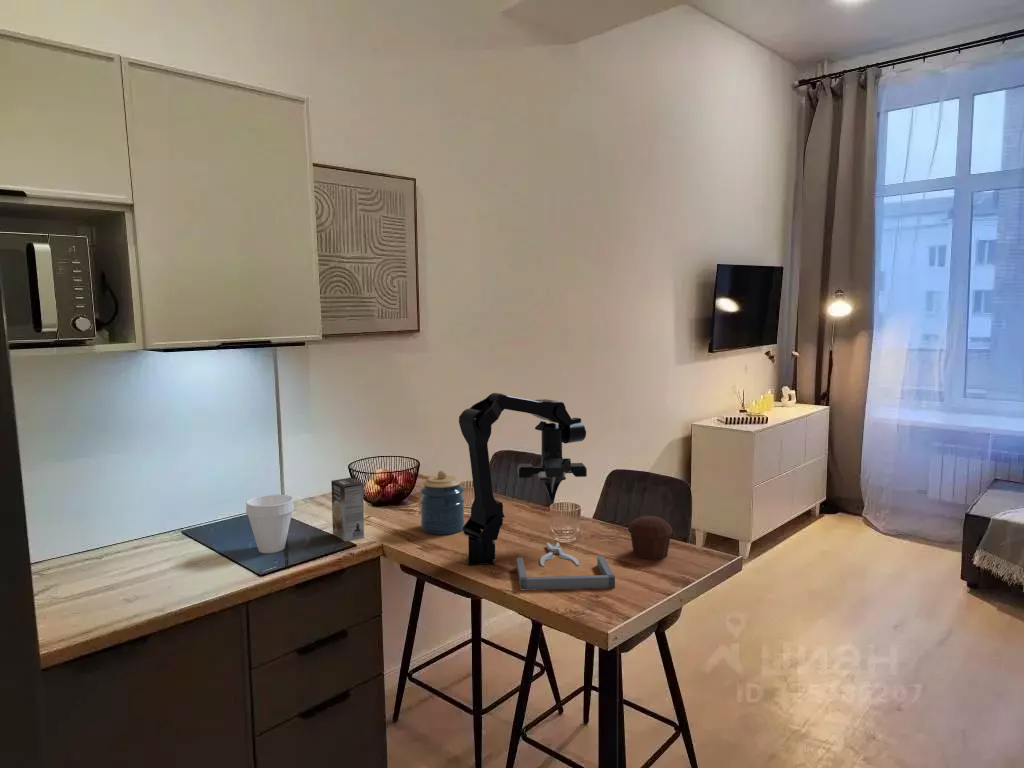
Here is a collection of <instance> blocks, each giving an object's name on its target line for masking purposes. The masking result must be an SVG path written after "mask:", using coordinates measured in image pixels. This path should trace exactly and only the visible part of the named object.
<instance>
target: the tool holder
mask: <svg viewBox="0 0 1024 768" xmlns="http://www.w3.org/2000/svg"><path fill="white" fill-rule="evenodd" d="M596 559H597V561H596V564H597V565H596V566H597V569H598V570H599V571H600V574H599V575H597V574H596V575H595V574H593V575H562V576H561V575H560V576H555V575H554V576H527V573H526V567H525V563H524V558H523V557H516V571H517V576H518V583H519V582H520V583H519V587H520V588H521V589H546V590H577V589H579V590H581V589H582V590H584V589H608V588H609V589H614V588H616V577H615V575H614V573H613V571H612V569H611V567H610V566H609V564H608V562H607V560H606V558H605V556H604V555H597V557H596ZM521 589H520V590H521Z"/></svg>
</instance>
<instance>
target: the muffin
mask: <svg viewBox="0 0 1024 768" xmlns="http://www.w3.org/2000/svg"><path fill="white" fill-rule="evenodd" d="M627 531H628V533H630V538H631V545H632V553H633V552H634V553H633V555H634V556H635V557H637V558H640V559H641V560H649V559H650V561H655V559H656V560H663V559H665V558H666V557H668V554H669V553H668V552H669V548H670V547H669V546H670V543H671V542H670V541H671V536H672V534H673V528H672V526H671V524H670V523H668V522H667V521H666V520H664V518H661V517H659V516H656V515H643V516H642V515H641V516H639V517H637V518H635V519H634V520H632V521H631V523H630V524H629V526H628V528H627Z"/></svg>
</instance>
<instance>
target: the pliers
mask: <svg viewBox="0 0 1024 768" xmlns="http://www.w3.org/2000/svg"><path fill="white" fill-rule="evenodd" d="M546 548H547V549H546V550H547V551H548V550H549V551H548V553H546V554H544V555H542V557H541V558H540V560H539V565H540V564H541V565H540V566H541V567H542V568H544V567H545V562H546V561H550V560H552V559H554V558H556V557H555V556H556V555H554V554H558V558H560V559H563V560H568V561H569V560H570V561H572V562H573V563H574V564H575V565H576V566H577V567H579V566H580V563H579V562H580V561H579V560H578V559H577V558H576V557H575V556H573V555H572V554H568V553H565V552H564V550H563V548H562V547H561V545H560V543H559V542H556V544H555V545H553V544H551V543H550V542H546ZM553 553H554V554H553Z"/></svg>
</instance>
